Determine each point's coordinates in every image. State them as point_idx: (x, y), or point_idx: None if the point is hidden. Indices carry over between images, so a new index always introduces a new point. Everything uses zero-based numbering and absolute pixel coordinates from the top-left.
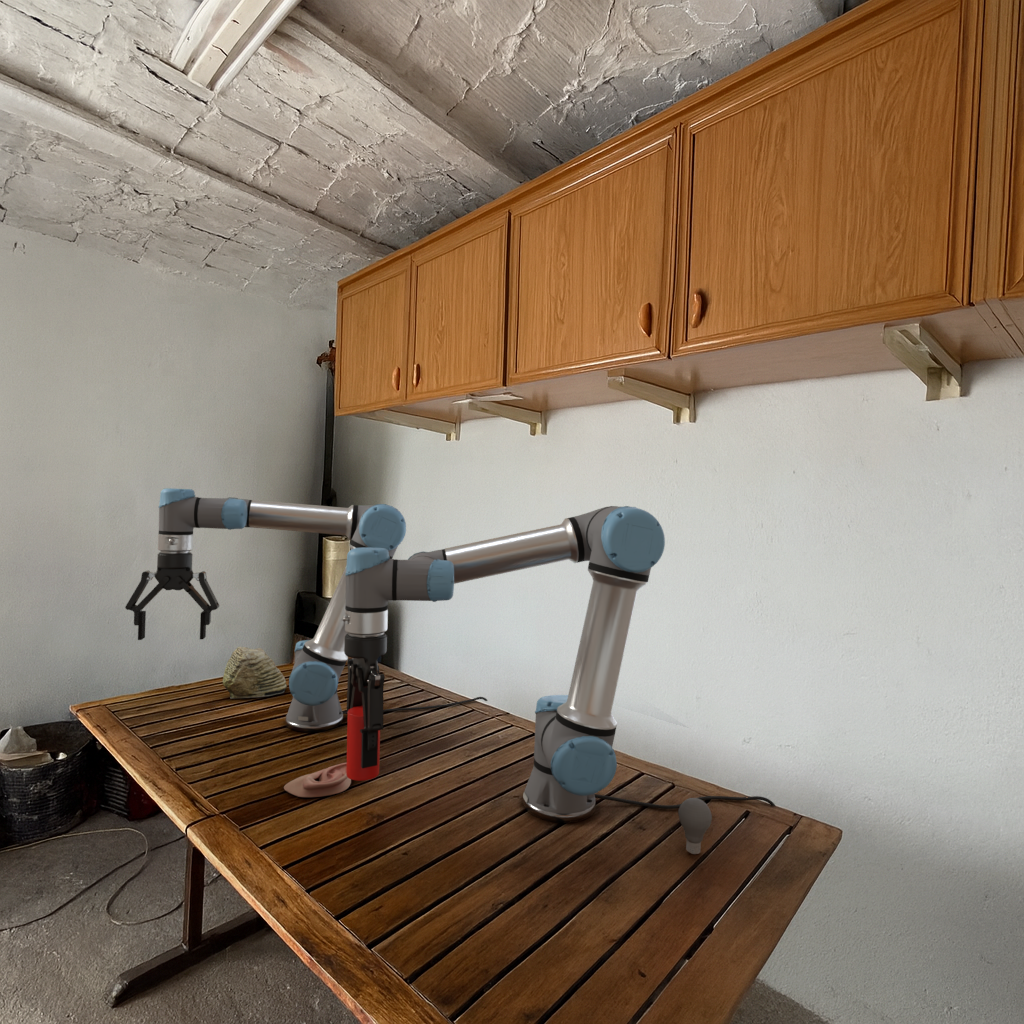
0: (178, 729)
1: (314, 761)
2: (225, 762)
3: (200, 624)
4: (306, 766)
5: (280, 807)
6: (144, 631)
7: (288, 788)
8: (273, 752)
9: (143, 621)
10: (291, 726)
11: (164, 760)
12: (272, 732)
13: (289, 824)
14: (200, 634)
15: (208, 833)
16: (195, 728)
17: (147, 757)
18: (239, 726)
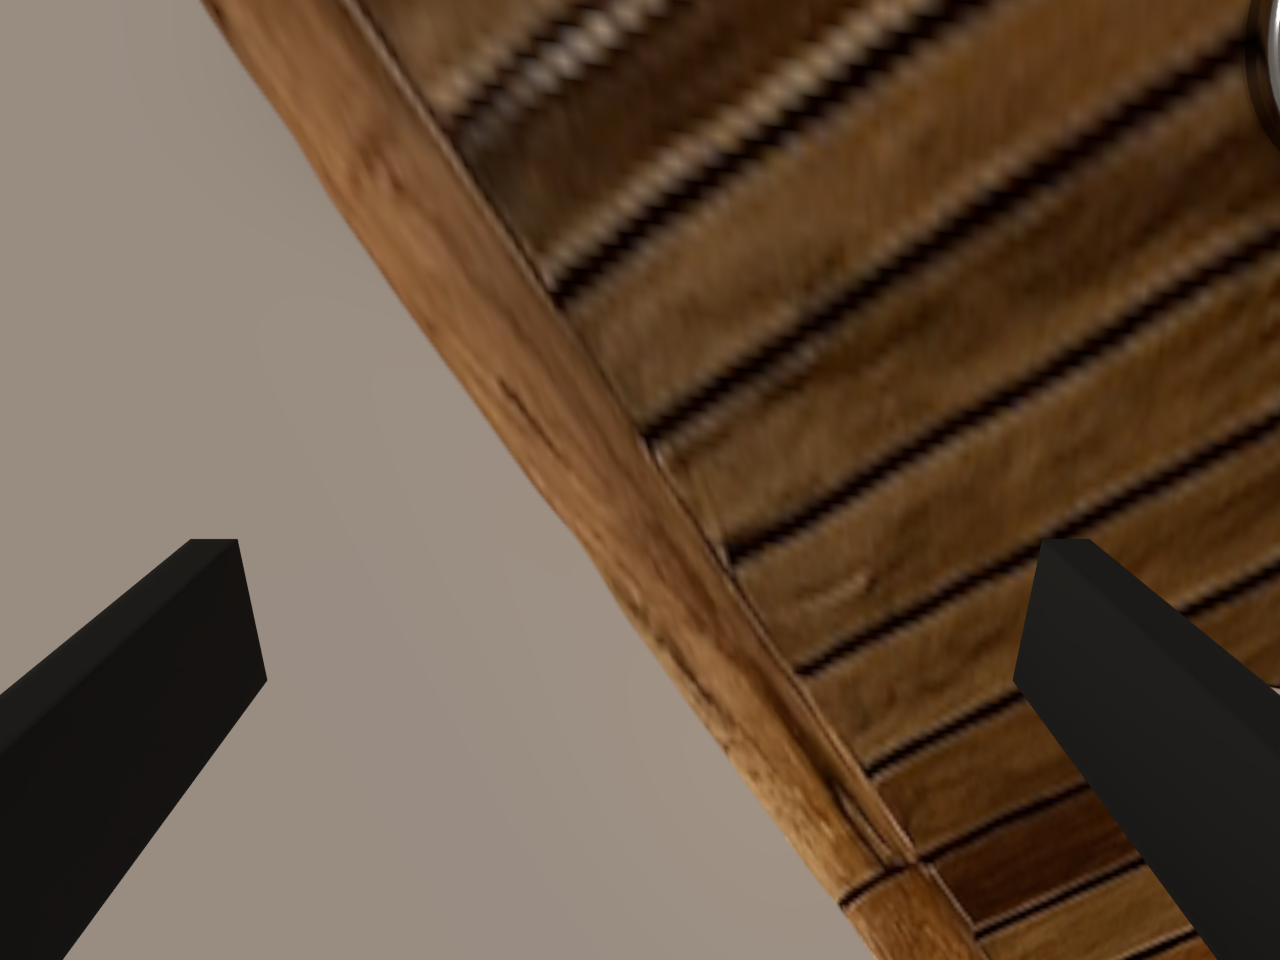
0: (617, 16)
1: (1274, 553)
2: (914, 515)
3: (1142, 849)
4: (1231, 594)
5: (1091, 854)
6: (191, 616)
7: None
8: (1120, 435)
9: (90, 818)
10: (1276, 125)
11: (659, 461)
12: (1149, 149)
13: (1104, 932)
14: (1054, 727)
15: (896, 942)
16: (712, 10)
17: (576, 418)
18: (968, 6)
